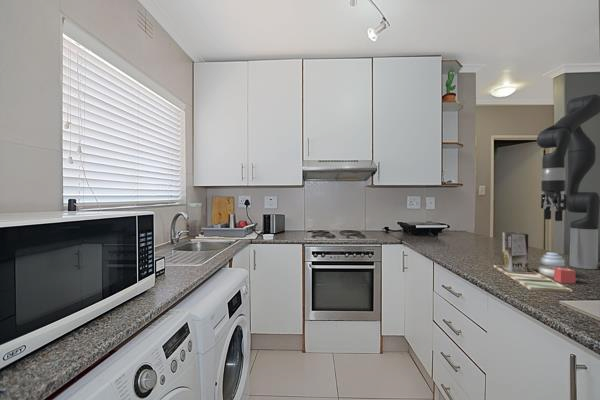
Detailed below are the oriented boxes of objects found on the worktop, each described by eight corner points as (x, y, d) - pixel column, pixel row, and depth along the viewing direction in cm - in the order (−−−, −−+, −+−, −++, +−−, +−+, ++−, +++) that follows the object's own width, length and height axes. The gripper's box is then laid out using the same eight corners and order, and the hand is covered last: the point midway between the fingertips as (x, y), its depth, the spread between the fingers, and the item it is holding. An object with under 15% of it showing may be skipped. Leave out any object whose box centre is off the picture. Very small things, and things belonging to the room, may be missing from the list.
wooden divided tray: (493, 266, 142) (493, 265, 142) (524, 268, 139) (524, 266, 139) (529, 289, 108) (529, 287, 108) (572, 292, 105) (572, 289, 105)
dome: (536, 261, 133) (537, 250, 133) (558, 262, 131) (558, 251, 131) (546, 265, 126) (546, 254, 126) (568, 266, 124) (568, 255, 124)
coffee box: (528, 273, 130) (529, 234, 130) (511, 273, 131) (511, 233, 131) (518, 268, 139) (518, 231, 139) (501, 268, 140) (502, 231, 140)
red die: (554, 279, 121) (554, 267, 121) (568, 280, 120) (568, 268, 120) (560, 282, 117) (560, 270, 117) (575, 283, 115) (575, 270, 115)
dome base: (534, 271, 134) (534, 265, 134) (559, 272, 132) (559, 266, 132) (544, 276, 125) (544, 270, 125) (571, 277, 123) (571, 271, 123)
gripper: (574, 178, 120) (574, 221, 120) (554, 180, 134) (554, 218, 134) (551, 179, 122) (551, 221, 122) (534, 180, 136) (533, 218, 136)
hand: (552, 220), depth 128 cm, fingers open, 8 cm apart
